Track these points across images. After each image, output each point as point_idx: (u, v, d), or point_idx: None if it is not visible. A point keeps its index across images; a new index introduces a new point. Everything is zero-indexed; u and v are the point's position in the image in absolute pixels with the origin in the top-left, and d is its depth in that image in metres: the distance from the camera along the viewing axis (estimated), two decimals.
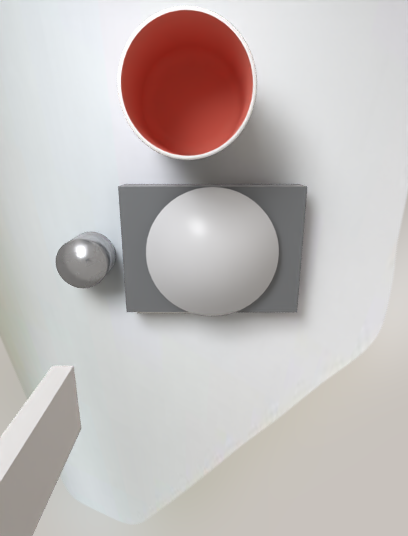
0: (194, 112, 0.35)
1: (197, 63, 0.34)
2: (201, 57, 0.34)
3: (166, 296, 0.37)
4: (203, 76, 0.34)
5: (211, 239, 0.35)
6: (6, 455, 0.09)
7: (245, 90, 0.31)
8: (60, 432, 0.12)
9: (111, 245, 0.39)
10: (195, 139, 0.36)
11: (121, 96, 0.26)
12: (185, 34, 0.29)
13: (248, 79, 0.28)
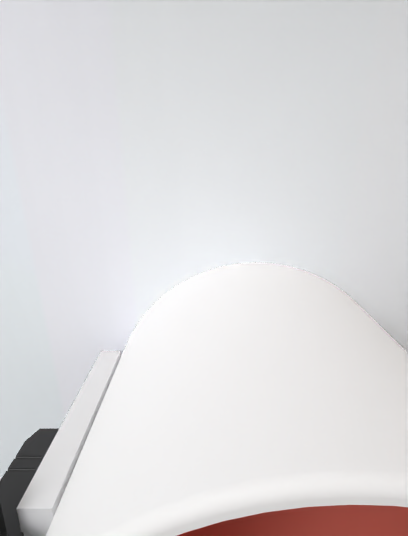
0: None
1: None
2: None
3: None
4: None
5: None
6: (78, 426, 0.10)
7: None
8: None
9: None
10: None
11: None
12: None
13: None
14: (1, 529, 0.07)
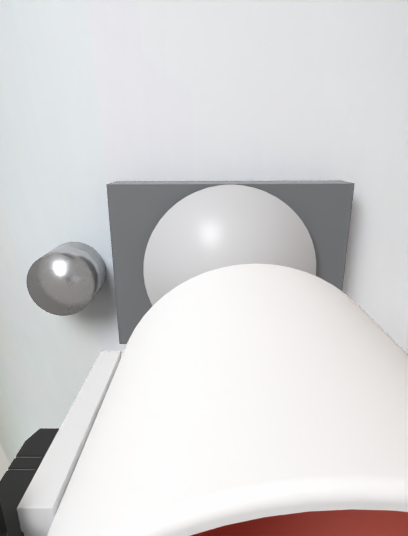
0: None
1: None
2: None
3: None
4: None
5: (228, 253, 0.27)
6: (78, 426, 0.10)
7: None
8: None
9: (99, 259, 0.31)
10: None
11: None
12: None
13: None
14: (2, 529, 0.07)
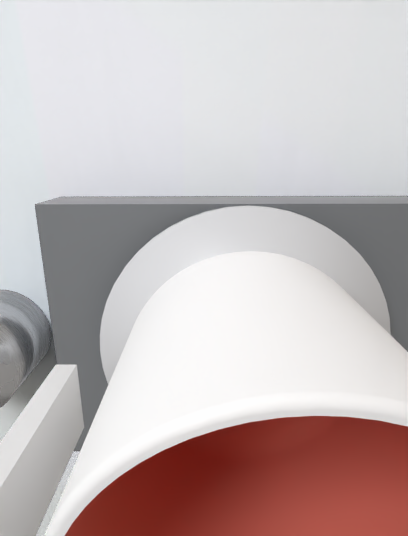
0: None
1: None
2: None
3: None
4: None
5: None
6: (11, 453, 0.09)
7: None
8: (64, 430, 0.12)
9: (39, 316, 0.20)
10: None
11: None
12: None
13: None
14: None
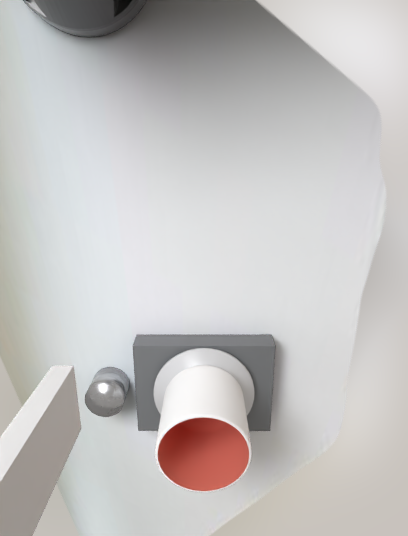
0: None
1: None
2: None
3: None
4: None
5: None
6: (6, 455, 0.09)
7: None
8: (60, 432, 0.12)
9: (126, 377, 0.50)
10: None
11: (157, 460, 0.38)
12: None
13: None
14: None
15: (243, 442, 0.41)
